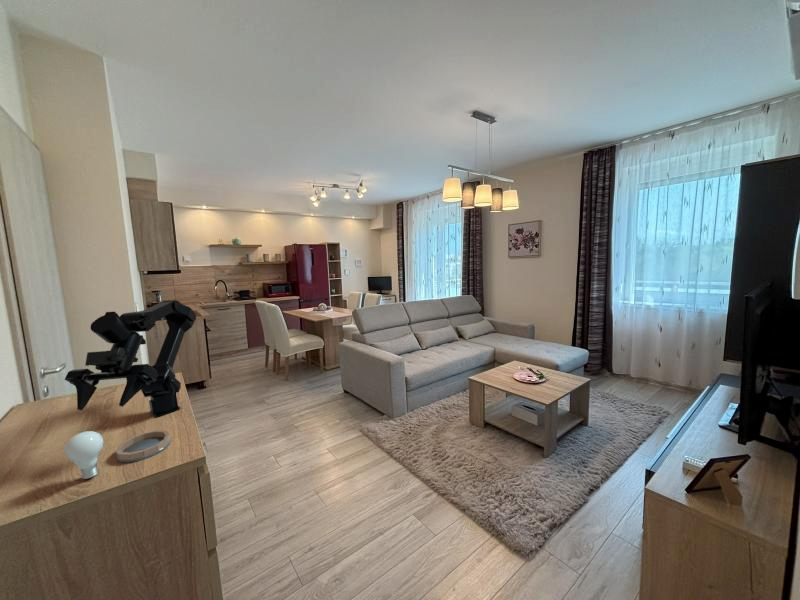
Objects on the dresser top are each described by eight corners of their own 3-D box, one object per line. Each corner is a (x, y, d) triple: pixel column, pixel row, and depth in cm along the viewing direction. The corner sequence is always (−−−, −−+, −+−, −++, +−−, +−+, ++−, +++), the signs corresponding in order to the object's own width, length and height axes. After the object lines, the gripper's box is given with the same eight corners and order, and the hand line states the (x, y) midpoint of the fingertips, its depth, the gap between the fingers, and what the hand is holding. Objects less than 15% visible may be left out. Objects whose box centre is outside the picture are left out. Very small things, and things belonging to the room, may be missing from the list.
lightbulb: (76, 491, 70) (66, 444, 68) (67, 481, 73) (58, 436, 71) (113, 473, 75) (105, 430, 73) (103, 465, 78) (95, 423, 77)
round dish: (162, 432, 92) (161, 425, 92) (177, 445, 86) (176, 438, 85) (111, 452, 83) (110, 445, 83) (123, 468, 77) (122, 460, 76)
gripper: (63, 339, 81) (29, 400, 72) (144, 334, 83) (121, 392, 74) (93, 359, 90) (67, 415, 80) (166, 354, 92) (148, 408, 83)
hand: (100, 407), depth 79 cm, fingers open, 9 cm apart
